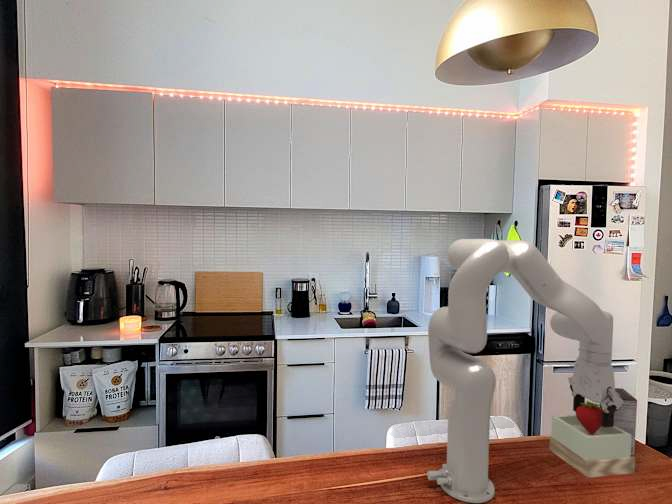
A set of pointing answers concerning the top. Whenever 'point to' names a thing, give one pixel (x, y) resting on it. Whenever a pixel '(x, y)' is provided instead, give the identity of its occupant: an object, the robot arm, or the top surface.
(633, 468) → the maple base block
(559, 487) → the top surface
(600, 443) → the sage top block
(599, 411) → the strawberry
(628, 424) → the coffee box
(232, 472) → the top surface
